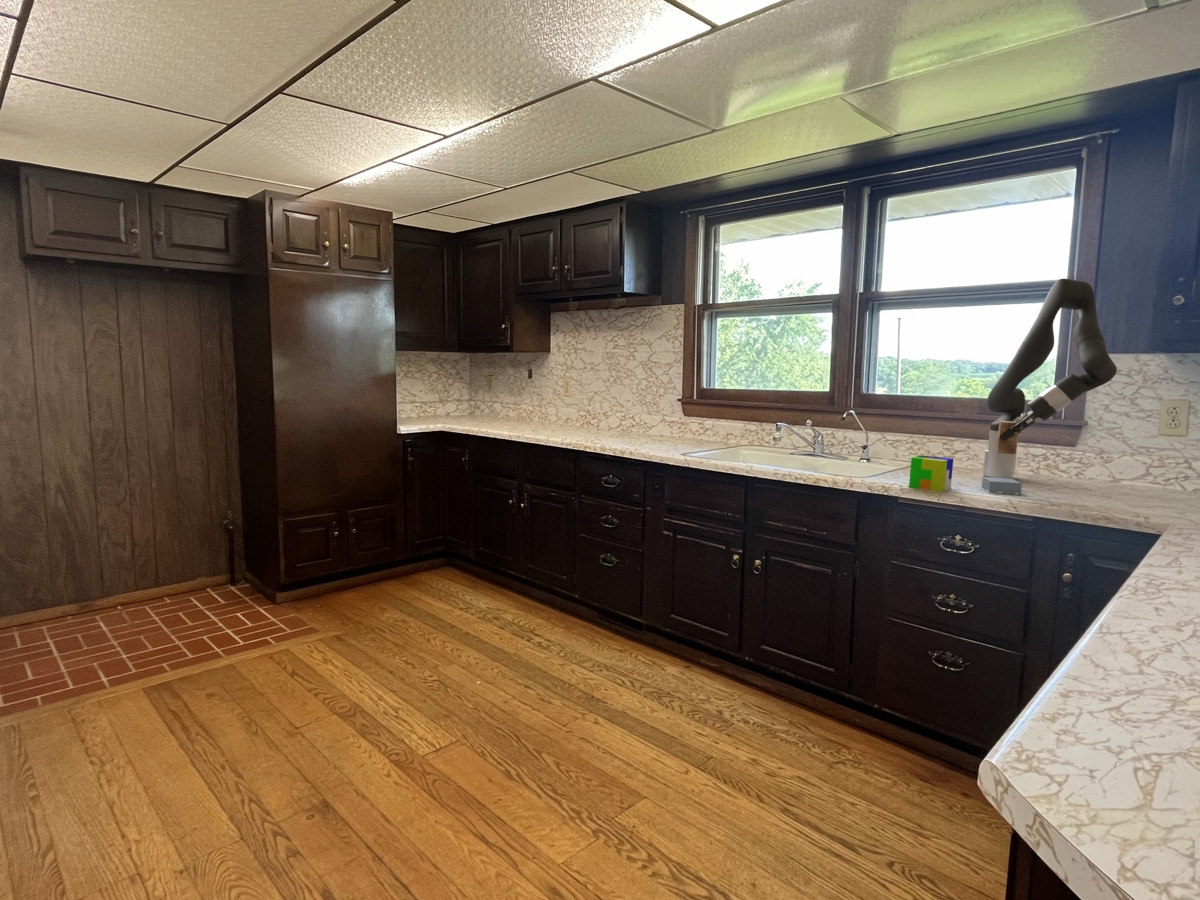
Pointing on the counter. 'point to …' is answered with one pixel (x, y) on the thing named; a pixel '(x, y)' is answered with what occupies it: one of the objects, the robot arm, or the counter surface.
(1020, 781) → the counter surface
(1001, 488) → the slate plinth
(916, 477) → the puzzle toy
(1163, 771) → the counter surface
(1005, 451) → the walnut block
